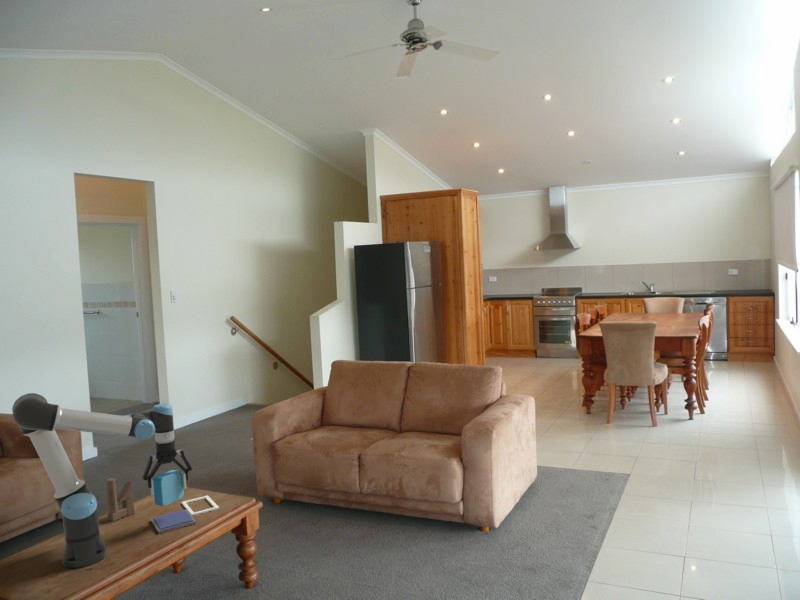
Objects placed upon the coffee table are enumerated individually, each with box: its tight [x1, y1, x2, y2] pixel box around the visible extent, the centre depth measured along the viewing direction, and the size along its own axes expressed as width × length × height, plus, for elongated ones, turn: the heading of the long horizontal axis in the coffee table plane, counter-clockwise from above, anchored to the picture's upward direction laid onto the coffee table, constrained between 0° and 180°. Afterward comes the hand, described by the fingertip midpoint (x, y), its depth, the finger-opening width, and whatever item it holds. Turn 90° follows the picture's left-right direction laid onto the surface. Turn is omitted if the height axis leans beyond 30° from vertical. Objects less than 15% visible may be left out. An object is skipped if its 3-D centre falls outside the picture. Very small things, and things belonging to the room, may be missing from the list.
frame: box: [180, 495, 220, 517], centre depth 288 cm, size 12×19×1 cm, turn 31°
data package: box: [153, 469, 185, 507], centre depth 270 cm, size 12×4×12 cm, turn 155°
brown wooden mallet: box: [105, 477, 136, 522], centre depth 281 cm, size 4×11×18 cm, turn 147°
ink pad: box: [150, 508, 197, 535], centre depth 271 cm, size 15×17×2 cm
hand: (169, 491), depth 270 cm, fingers closed on data package, 12 cm apart
